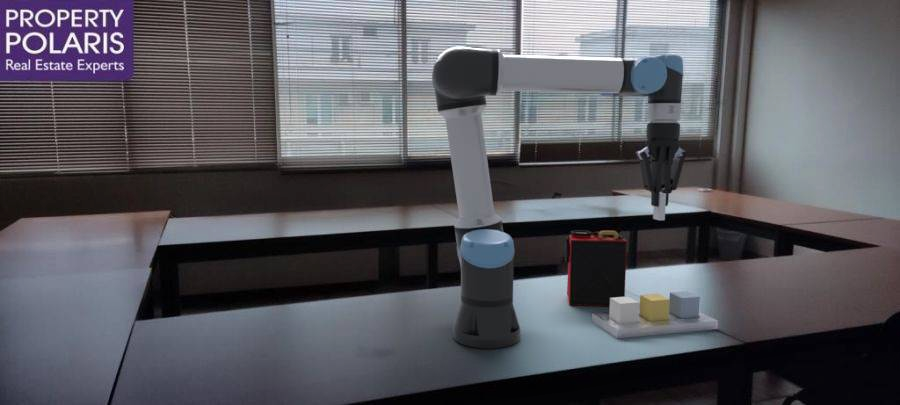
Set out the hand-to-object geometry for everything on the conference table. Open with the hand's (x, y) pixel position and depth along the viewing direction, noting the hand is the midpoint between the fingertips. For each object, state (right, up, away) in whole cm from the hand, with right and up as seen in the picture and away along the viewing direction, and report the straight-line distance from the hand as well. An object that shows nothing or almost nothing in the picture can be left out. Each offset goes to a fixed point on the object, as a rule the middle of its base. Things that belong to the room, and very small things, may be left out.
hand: (658, 219), depth 146 cm
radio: (-12, -23, +16) cm, 30 cm away
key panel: (-2, -25, -3) cm, 25 cm away
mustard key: (-3, -23, -4) cm, 24 cm away
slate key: (+5, -23, -2) cm, 24 cm away
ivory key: (-10, -24, -6) cm, 26 cm away
